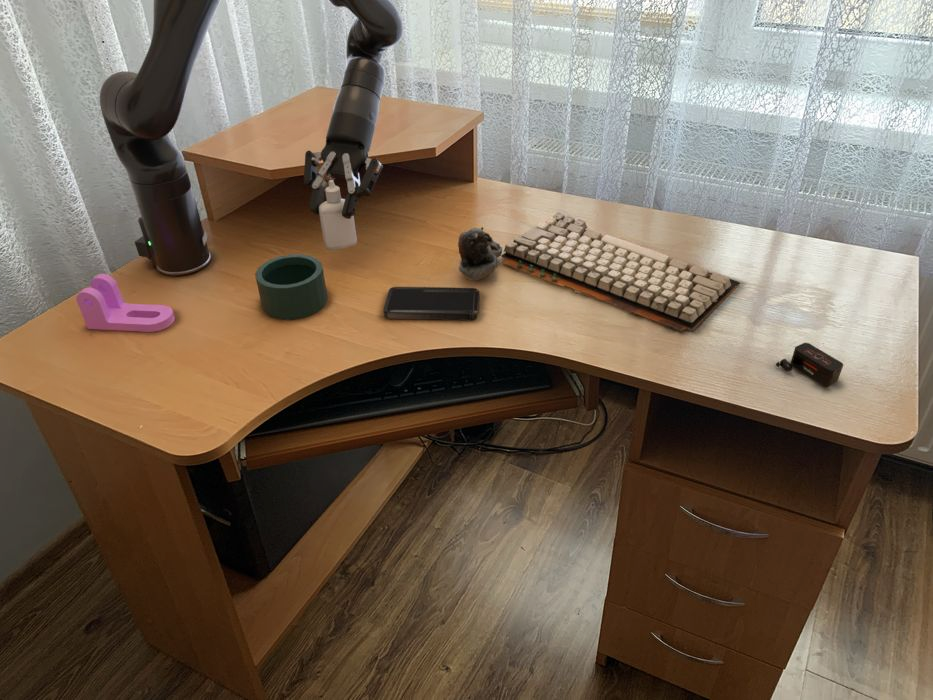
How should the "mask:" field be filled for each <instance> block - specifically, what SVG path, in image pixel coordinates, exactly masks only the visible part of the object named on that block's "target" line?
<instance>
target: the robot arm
mask: <svg viewBox="0 0 933 700" xmlns="http://www.w3.org/2000/svg"><path fill="white" fill-rule="evenodd" d="M221 1H222V0H153V9H152V10H153V24H152V25H153V27H152V34H151V35H152V36H151V41H150V45H149V47H148V50H147V53H146V55H145V57H144V59H143V61H142V65H141V66H140V68H139V70H138V72H133V71H127V70H126V71H125V70H124V71H123V70H122V71H118V72H115V73H112V74H111V75H110V76H108V77H107V78H106V79H105V80H104V82H103V83H102V85H101V88H100V91H99V106H100V112H101V115H102V119H103V121H104V125H105V127H106V129H107V133H108V135H109V138H110V140H111V143H112V146H113V149H114V152H115V154H116V156H117V158H118V160H119V162H120V163H121V165H122V166H123V167H124V169H125V171H126V174H127V177H128V179H129V182H130V186H131V188H132V192H133V195H134V197H135V200H136V204H137V207H138V210H139V213H140V217H138V224H139V225H138V226H139V228H140V230H141V233H142V236H141V237H139V238H138V239H136V240H134V245H135V248H136V251H137V254H138V256H139V257H142V258H147V260H149V261H151V264H152V267H153V268H156V269H157V271H158V272H159V273H161V274H163V275H166V276H171V277H172V276H173V277H175V276H187V275H190V274H193V273H197V272H199V271H201V270H203V269H204V268H205V267H207V266H208V265H209V264H210V263H211V261H212V255H211V252H210V250H209V246H208V243H207V239H208V234H207V230H204V228H203V224H202V220H201V216H200V213H199V208H198V205H197V202H196V197H195V194H194V190H193V187H192V183H191V178H190V176H189V175H190V174H189V172H188V169H187V165H186V162H185V157H184V155H183V153H182V152H181V151H180V149H179V148H178V147H177V146H176V145H175V144H174V141H172V138H171V137H170V135H169V133H171V132H172V130H173V129H174V128H175V126H176V125H177V124H176V123H177V122H178V119H179V116H180V114H181V112H182V107H183V105H184V101H185V98H186V93H187V91H188V86H189V83H190V79H191V76H192V73H193V70H194V66H195V63H196V61H197V58H198V55H199V53H200V51H201V49H202V46H203V43H204V42H205V39H206V36H207V33H208V31H209V28H210V26H211V23H212V21H213V19H214V16H215V15H216V12H217V10H218V9H219V5H220V3H221ZM327 1H328V2H329V3H330V4H331V6H333V7H334V8H335V9H343V8H345V9H347V10H348V11H350V12H351V13H352V15H354V16H355V17H356V18H355V19H354V20H353V21H352V22H351V25H350V28H349V30H348V34H347V38H346V39H347V40H346V49H345V51H346V52H345V68H344V71H343V75H342V79H341V84H340V88H339V90H338V93H337V95H336V99H335V101H334V105H333V108H332V111H331V115H330V120H329V124H328V127H327V132H326V137H325V145H324V147H322V149H321V151H317V152H312V151H311V150H307V151H305V155H304V170H303V183H304V184H305V185H306V186H308V187H309V188H310V189H311V190H312V192H311V195H310V200H309V203H308V205H309V206H308V208H309V209H310V212H312V213H313V214H314V215H319V206H320V205H321V204H322V203H324V199H325V197H326V192H325V189H326V188H327V187H329V181H330V180H333V181H335V180H336V179H342V178H343V179H345V181H346V184H347V185H346V186H347V192H348V193H346V195H345V197H344V199H345V202H344V206H343V210H342V216H343V217H345V218H346V219H351V216H353V215H355V214H356V210H357V206H358V203H359V199H360V198H361V197H370V196H371V195H372V192H373V190H374V188H375V186H376V183H377V181H378V179H379V177H380V175H381V173H382V170H383V168H384V165H383V164H382V163H381V162H380V161H379V160H378V158H375V157H374V158H369V152H370V150H371V146H372V141H373V139H374V134H375V129H376V125H377V122H378V119H379V118H378V117H379V113H380V112H379V111H380V104H381V103H380V102H381V99H382V95H383V91H384V86H385V83H386V69H385V67H384V66H383V64H382V58H383V56H384V53H385V52H386V51H387V50H389V49H390V48H393V47H394V46H395V45H397V44H398V43H399V42H400V40H401V39H402V37H403V35H404V23H403V19H402V16H401V14H400V12H399V10H398V9H397V7H396V6H395V5H394V3H393V2H392V1H391V0H327ZM321 162H322V163H323V164H322V166H321ZM319 166H321V167H320V168H319ZM364 168H365V172H364V174H363V177H362V179H361V177H360V172H361V171H362V170H363V169H364ZM324 193H325V194H324ZM319 216H320V215H319Z"/></svg>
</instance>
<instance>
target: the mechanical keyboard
mask: <svg viewBox="0 0 933 700" xmlns="http://www.w3.org/2000/svg"><path fill="white" fill-rule="evenodd" d="M503 252H504V253H502V254H501V256H500V258H503V260H502V261H501V263H502V264H503V265H506V266H509V267H512V268H514V269H517V270H519V271H521V272H523V273H526V274H529V275H531V276H534V277H536V278H539V279H542V280H545V281H547V282H549V283H552V284H554V285H558V286H560V287H562V288H570V289H573V290H574V293H577V294H580V295H584V296H587V297H589V298H592V299H594V300H600V301H602V302H604V303H605V302H606V303H608V304H611V305H613V306H615V307H617V308H620V309H622V310H625V311H627V312H629V313H631V314H633V315H636V316H638V317H642V318H645V319H647V320H650V321H652V322H655V323H658V324H660V325H662V326H663V325H664V326H665V327H668V328H670V329H673V330H676V331H679V332H683V331H685V330H690V331H696V329H697V328H698V327H699V326H700V325H701V324H702V323H704V322H705V321H706V319H707V318H708V317H709V316H710V315H711V314H712V313H713V312H714V311H715V310H716V309H718V307H719V306H720V305H721V304H722V303H723V302H724V301H725V300H726V299H727V298H728V297H729V296H730V295H731V294H732V293H733V292H734V291H735V290H736V289H737V288H738V287H739V285H740V284H741V282H740V281H737V280H735V279H732V278H731V277H730V276H726V275H724V274H720V273H718V272H710V270H709V269H706V268H703V267H700V266H698V265H692V266H690V265H689V263H688V262H685V261H683V260H680V259H678V258H672V259H670V256H668V255H667V254H664V253H661V252H658V251H656V250H652V249H651V248H648V247H644V246H642V245H638V244H635V243H633V242H629V241H627V240H624V239H621V238H618V237H614V236H612V235H610V234H609V235H608V234H605V235H602V233H601V232H599V231H595V230H593V229H590V228H588V226H587V223H586V221H585V220H583V219H580V218H578V219H575V217H574V216H571V215H566V216H565V214H564V213H561V212H560V211H557V212H556V213H555V214H554V215H553V216H549V217H547V218H546V219H545V220H544V221H540V222H539V223H538V224H537V226H534V227H532V228H530V229H529V230H527V231H526V232H524V233H523V234H521V236H520V235H518V236H516V237H514V238H513V240H512V241H508V242H506V243H505V246H504V249H503Z"/></svg>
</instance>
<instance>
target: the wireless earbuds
mask: <svg viewBox="0 0 933 700" xmlns="http://www.w3.org/2000/svg"><path fill="white" fill-rule="evenodd" d="M775 366H776V368H777V367H778V368H780V367H781V368H782V370H784V371H786V372H791V371H793V369H794V370H796V371H797V372H799V373H801V374H802V375H804V376H805V377H807V378H809V379H811V380H812V381H813V382H815V383H817V384H818V385H820V386H822V387H823V388H829V387H830V386H832V385H834V384H837V383H838V381H839V378H840V377H841V373H842V371H843V367H844V363H843V362H842V361H840V360H838V359H837V358H836V357H833V356H832V355H830V354H828V353H826V352H824V351H823V350H821V349H820V348H818V347H816V346H814V345H813V344H811V343H809V342H803V343H801V344H799V345H796V346H795V347H794V349H793V354H792V356H791V360H790V362H789V360H787V358H783V359H781V360H780V361H777V362H776V363H775Z"/></svg>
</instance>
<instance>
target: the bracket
mask: <svg viewBox="0 0 933 700" xmlns="http://www.w3.org/2000/svg"><path fill="white" fill-rule="evenodd" d="M75 299H76V303H77V305H78V308H79V310H80V313H81V315H82V318H83V320H84V322H85V325H86V327H87V329H88V330H100V331H101V330H103V331H122V332H123V331H124V332H146V333H154V332H160V331H163V330H164V329H167V328H169V327H170V326H172V325H173V323H174V322H175V321H176V319H175V314H174V311H173V309H172V308H171V307H170V306H168V305H165V304H150V303H149V304H148V303H127V302H125V300H124V298H123V295H122V293H121V290H120V288H119V285H118V282H117V281H116V279H115V278H114V277H113V276H111V275H109V274H107V273H99V274H97V275H95V277H94V278H93V279H92V280H91V281H90V287H84V288H83V289H81V290H80V291H79V292H78V294H77V295H76V297H75Z"/></svg>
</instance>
